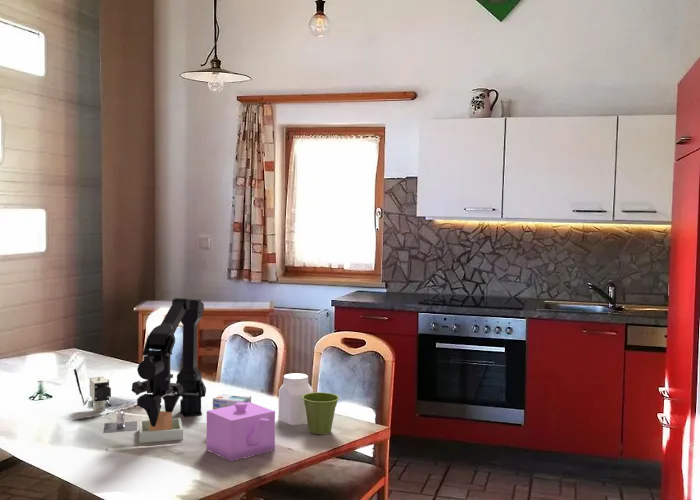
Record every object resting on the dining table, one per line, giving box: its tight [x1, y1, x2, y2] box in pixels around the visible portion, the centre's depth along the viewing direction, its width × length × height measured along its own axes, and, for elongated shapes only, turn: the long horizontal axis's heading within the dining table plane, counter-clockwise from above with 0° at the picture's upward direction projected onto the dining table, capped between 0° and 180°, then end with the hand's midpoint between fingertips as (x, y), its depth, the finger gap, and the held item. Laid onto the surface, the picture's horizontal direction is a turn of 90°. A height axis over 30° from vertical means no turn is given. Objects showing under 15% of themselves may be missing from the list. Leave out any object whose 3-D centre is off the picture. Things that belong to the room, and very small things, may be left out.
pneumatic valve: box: [88, 376, 112, 413], centre depth 246 cm, size 6×12×12 cm, turn 30°
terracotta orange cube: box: [148, 410, 173, 431], centre depth 220 cm, size 5×5×6 cm
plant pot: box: [302, 391, 340, 435], centre depth 228 cm, size 12×12×11 cm
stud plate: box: [102, 410, 138, 434], centre depth 227 cm, size 10×10×6 cm
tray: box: [138, 417, 184, 443], centre depth 220 cm, size 13×13×4 cm
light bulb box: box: [212, 393, 252, 410], centre depth 228 cm, size 11×7×11 cm, turn 71°
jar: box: [277, 372, 314, 426], centre depth 240 cm, size 12×10×15 cm
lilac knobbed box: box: [206, 401, 276, 462], centre depth 208 cm, size 15×25×14 cm, turn 43°
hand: (160, 422), depth 220 cm, fingers open, 9 cm apart
